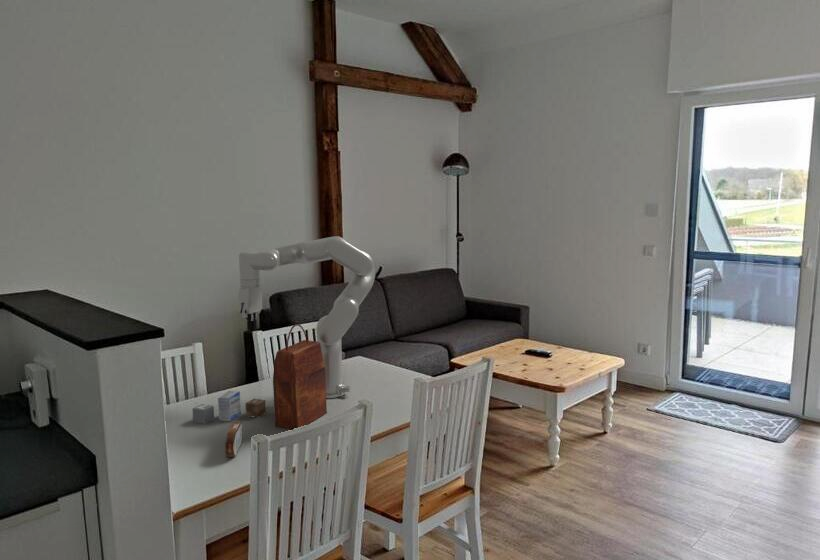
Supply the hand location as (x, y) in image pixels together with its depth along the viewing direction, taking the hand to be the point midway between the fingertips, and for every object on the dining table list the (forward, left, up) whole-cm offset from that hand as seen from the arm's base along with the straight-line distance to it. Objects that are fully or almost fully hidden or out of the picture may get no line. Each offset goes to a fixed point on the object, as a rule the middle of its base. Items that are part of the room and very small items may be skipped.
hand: (252, 330), depth 228 cm
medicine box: (-4, +21, -27) cm, 35 cm away
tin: (-23, +44, -27) cm, 57 cm away
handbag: (-29, +14, -27) cm, 42 cm away
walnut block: (-11, +16, -27) cm, 33 cm away
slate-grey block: (+3, +27, -27) cm, 38 cm away
